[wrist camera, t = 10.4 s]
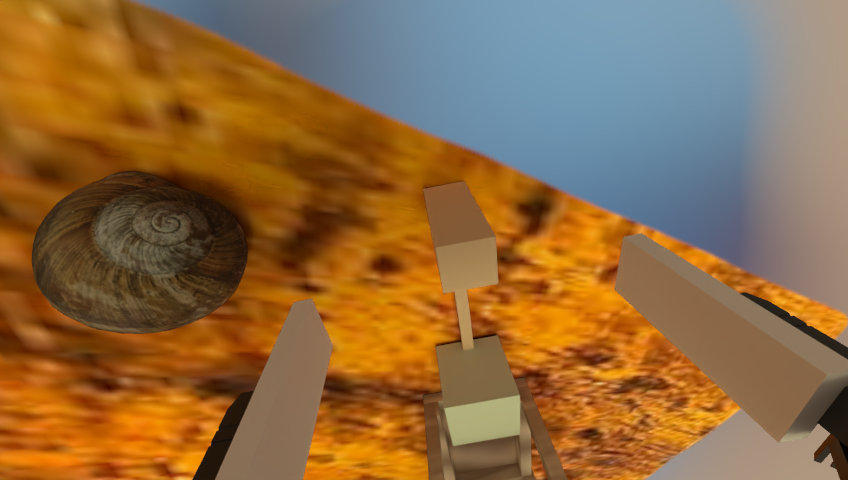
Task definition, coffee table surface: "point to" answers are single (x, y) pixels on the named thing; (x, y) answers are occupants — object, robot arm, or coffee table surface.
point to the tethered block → (470, 359)
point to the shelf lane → (489, 446)
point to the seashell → (138, 255)
